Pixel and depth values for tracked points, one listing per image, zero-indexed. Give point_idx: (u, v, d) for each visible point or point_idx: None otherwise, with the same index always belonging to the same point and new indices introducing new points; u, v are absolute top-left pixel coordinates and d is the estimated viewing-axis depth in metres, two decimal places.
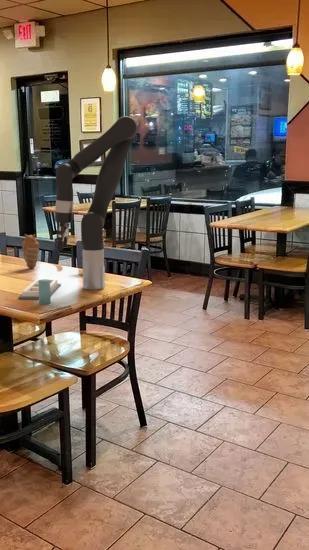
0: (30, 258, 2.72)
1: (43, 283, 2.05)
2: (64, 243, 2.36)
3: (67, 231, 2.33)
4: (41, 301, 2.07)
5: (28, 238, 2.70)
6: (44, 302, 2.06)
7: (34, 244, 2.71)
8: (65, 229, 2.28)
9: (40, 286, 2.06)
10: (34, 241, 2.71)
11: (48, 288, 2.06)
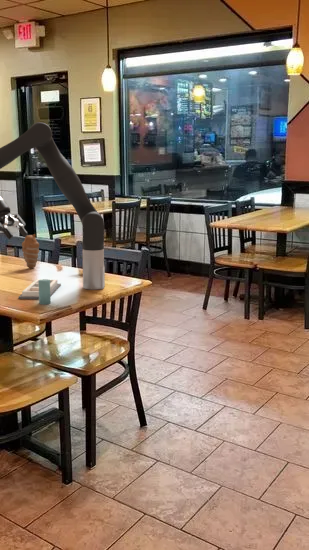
0: (30, 258, 2.72)
1: (43, 283, 2.05)
2: (23, 232, 2.13)
3: (13, 219, 2.11)
4: (41, 301, 2.07)
5: (28, 238, 2.70)
6: (44, 302, 2.06)
7: (34, 244, 2.71)
8: (4, 218, 2.08)
9: (40, 286, 2.06)
10: (34, 241, 2.71)
11: (48, 288, 2.06)
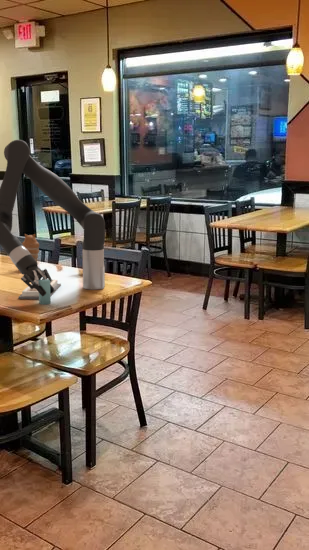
0: None
1: (43, 283, 2.05)
2: None
3: (40, 274, 2.09)
4: (41, 301, 2.07)
5: (28, 238, 2.70)
6: (44, 302, 2.07)
7: (34, 244, 2.71)
8: (33, 273, 2.06)
9: None
10: (34, 241, 2.71)
11: (48, 288, 2.06)
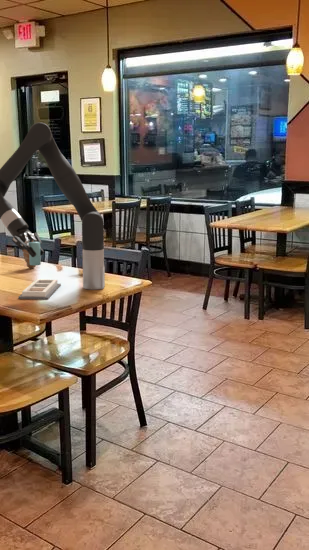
0: None
1: (33, 245, 2.13)
2: (40, 251, 2.17)
3: (31, 237, 2.17)
4: (31, 262, 2.14)
5: None
6: (34, 263, 2.14)
7: None
8: (24, 236, 2.14)
9: None
10: None
11: (38, 250, 2.14)
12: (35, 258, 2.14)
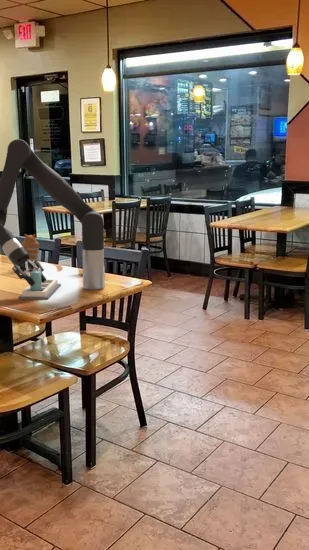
0: (30, 258, 2.72)
1: (34, 274, 2.15)
2: (42, 278, 2.20)
3: (32, 265, 2.19)
4: None
5: (28, 238, 2.70)
6: None
7: (34, 244, 2.71)
8: (24, 265, 2.16)
9: (31, 277, 2.16)
10: (34, 241, 2.71)
11: (39, 279, 2.17)
12: (36, 288, 2.16)
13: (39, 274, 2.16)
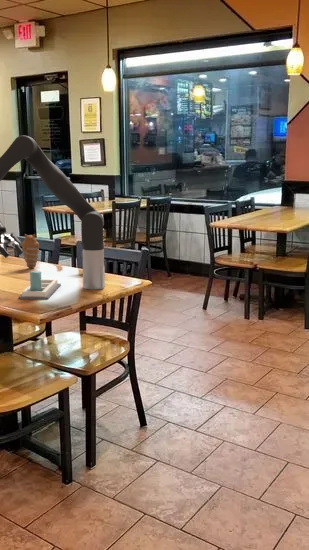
0: (30, 258, 2.72)
1: (34, 274, 2.15)
2: (19, 250, 2.24)
3: (9, 238, 2.23)
4: None
5: (28, 238, 2.70)
6: None
7: (34, 244, 2.71)
8: (0, 237, 2.19)
9: (31, 277, 2.16)
10: (34, 241, 2.71)
11: (39, 279, 2.17)
12: (36, 288, 2.16)
13: (39, 274, 2.16)
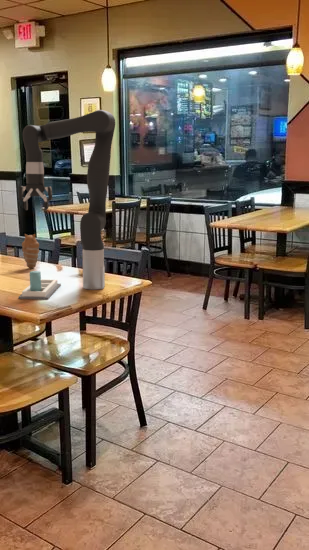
0: (30, 258, 2.72)
1: (34, 274, 2.15)
2: None
3: (38, 193, 2.33)
4: None
5: (28, 238, 2.70)
6: None
7: (34, 244, 2.71)
8: None
9: (31, 277, 2.16)
10: (34, 241, 2.71)
11: (39, 279, 2.17)
12: (36, 287, 2.16)
13: (39, 274, 2.16)
